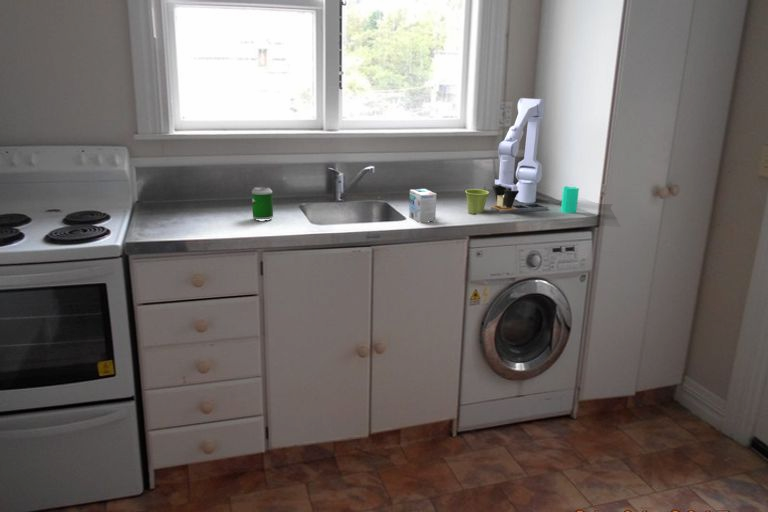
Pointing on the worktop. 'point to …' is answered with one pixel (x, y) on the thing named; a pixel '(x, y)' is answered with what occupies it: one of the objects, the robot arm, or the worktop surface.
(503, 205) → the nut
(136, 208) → the worktop surface
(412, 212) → the light bulb box
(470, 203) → the plant pot
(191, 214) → the worktop surface
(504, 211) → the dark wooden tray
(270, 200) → the soda can
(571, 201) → the candle
